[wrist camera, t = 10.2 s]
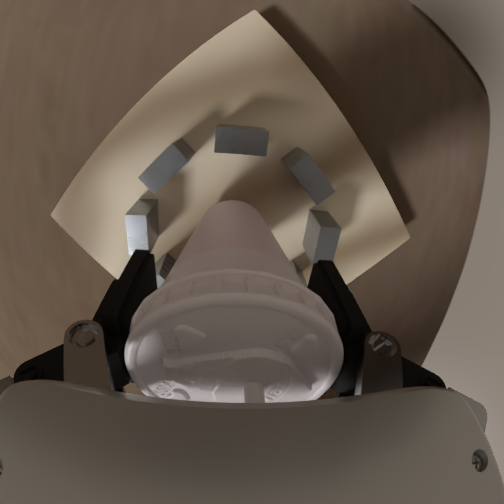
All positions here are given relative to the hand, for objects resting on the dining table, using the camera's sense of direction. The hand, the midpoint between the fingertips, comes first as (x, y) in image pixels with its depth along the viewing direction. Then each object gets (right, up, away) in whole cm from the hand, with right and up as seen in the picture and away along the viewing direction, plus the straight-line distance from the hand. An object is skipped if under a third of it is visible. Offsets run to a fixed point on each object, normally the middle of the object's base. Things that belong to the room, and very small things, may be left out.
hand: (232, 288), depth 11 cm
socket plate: (0, +4, +7) cm, 8 cm away
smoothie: (0, +3, +5) cm, 5 cm away
